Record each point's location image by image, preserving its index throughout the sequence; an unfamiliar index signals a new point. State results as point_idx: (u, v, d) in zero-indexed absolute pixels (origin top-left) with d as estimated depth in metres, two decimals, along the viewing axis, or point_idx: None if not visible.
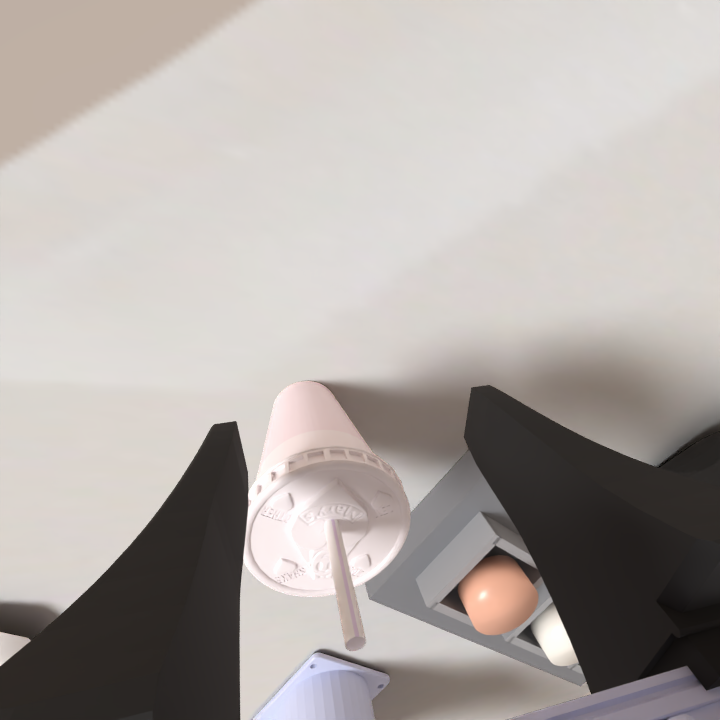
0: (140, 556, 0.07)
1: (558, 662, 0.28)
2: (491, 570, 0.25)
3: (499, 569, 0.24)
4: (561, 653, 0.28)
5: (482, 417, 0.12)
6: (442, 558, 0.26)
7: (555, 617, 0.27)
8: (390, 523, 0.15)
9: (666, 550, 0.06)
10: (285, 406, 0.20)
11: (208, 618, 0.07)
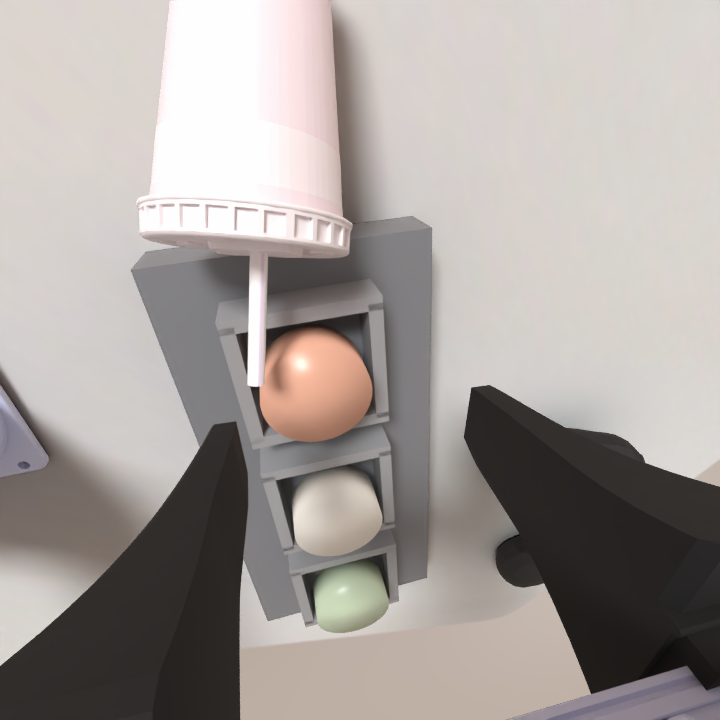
0: (140, 556, 0.07)
1: (300, 539, 0.20)
2: (338, 339, 0.16)
3: (348, 345, 0.16)
4: (314, 527, 0.19)
5: (482, 417, 0.12)
6: (280, 296, 0.16)
7: (341, 481, 0.20)
8: None
9: (666, 550, 0.06)
10: None
11: (208, 618, 0.07)
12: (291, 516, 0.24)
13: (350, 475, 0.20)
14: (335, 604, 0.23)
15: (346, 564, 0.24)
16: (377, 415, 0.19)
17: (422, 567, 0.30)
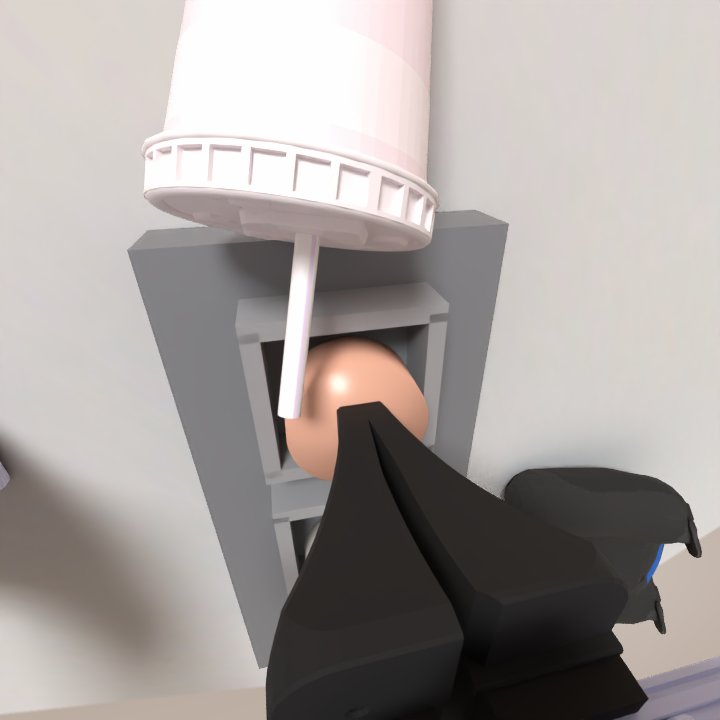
0: (345, 517, 0.07)
1: None
2: (389, 356, 0.12)
3: (401, 365, 0.13)
4: None
5: None
6: (316, 297, 0.13)
7: None
8: (378, 243, 0.11)
9: (462, 598, 0.06)
10: None
11: None
12: (299, 556, 0.20)
13: None
14: None
15: None
16: None
17: None
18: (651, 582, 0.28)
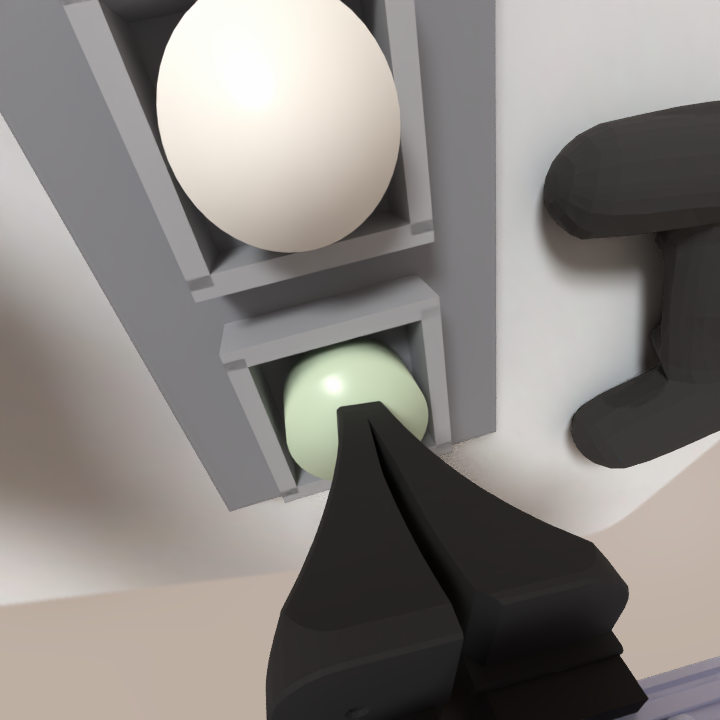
0: (345, 516, 0.07)
1: (186, 168, 0.07)
2: None
3: None
4: (215, 121, 0.07)
5: None
6: None
7: None
8: None
9: (462, 598, 0.06)
10: None
11: None
12: (218, 251, 0.11)
13: None
14: (318, 406, 0.11)
15: (338, 342, 0.12)
16: None
17: (488, 408, 0.17)
18: None
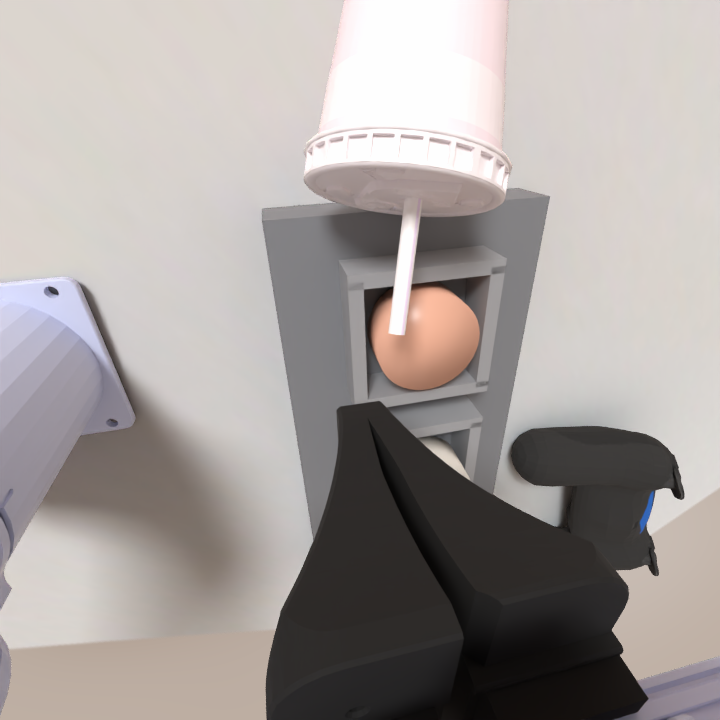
0: (345, 516, 0.07)
1: None
2: (450, 291, 0.17)
3: (458, 298, 0.17)
4: None
5: None
6: None
7: (433, 450, 0.20)
8: (457, 208, 0.14)
9: (462, 598, 0.06)
10: None
11: None
12: None
13: (440, 445, 0.20)
14: None
15: None
16: (477, 384, 0.19)
17: None
18: (645, 532, 0.31)
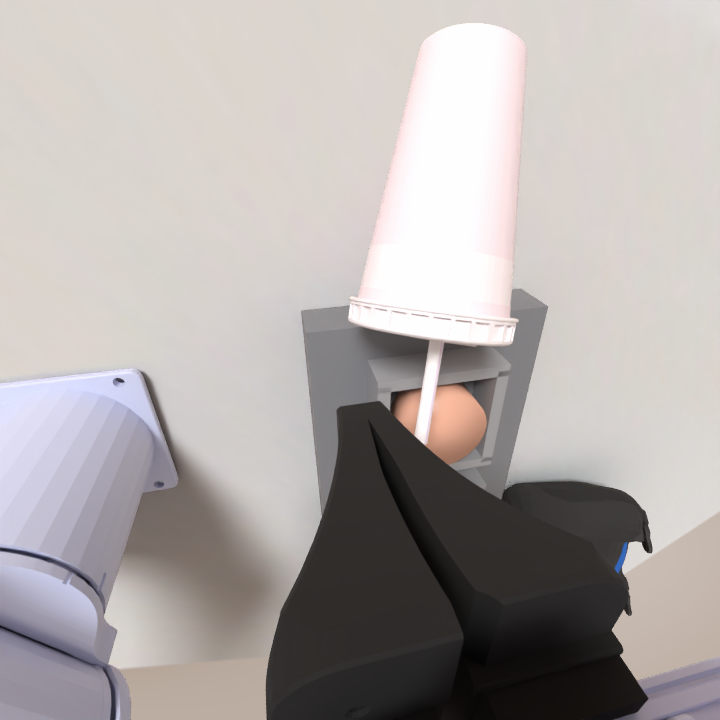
0: (345, 517, 0.07)
1: None
2: (462, 387, 0.20)
3: (469, 392, 0.20)
4: None
5: None
6: (419, 358, 0.19)
7: None
8: None
9: (462, 598, 0.06)
10: (469, 122, 0.12)
11: None
12: None
13: None
14: None
15: None
16: (482, 459, 0.22)
17: None
18: (621, 574, 0.34)
